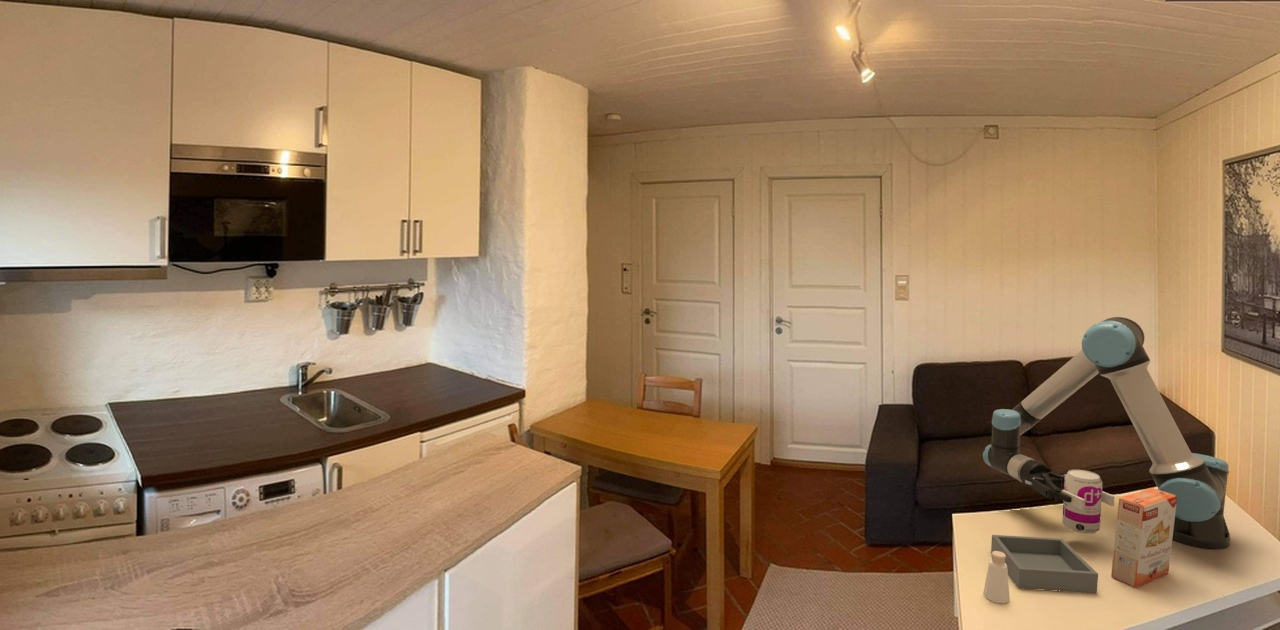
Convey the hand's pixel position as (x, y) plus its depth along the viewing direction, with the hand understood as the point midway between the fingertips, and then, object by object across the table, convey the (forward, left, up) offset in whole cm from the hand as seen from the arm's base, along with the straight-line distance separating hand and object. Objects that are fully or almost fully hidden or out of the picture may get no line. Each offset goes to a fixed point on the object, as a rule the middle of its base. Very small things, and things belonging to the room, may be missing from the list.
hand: (1098, 502), depth 161 cm
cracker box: (-5, +10, -15) cm, 18 cm away
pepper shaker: (+33, +24, -15) cm, 43 cm away
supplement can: (+2, -4, -9) cm, 10 cm away
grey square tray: (+18, +11, -14) cm, 25 cm away
